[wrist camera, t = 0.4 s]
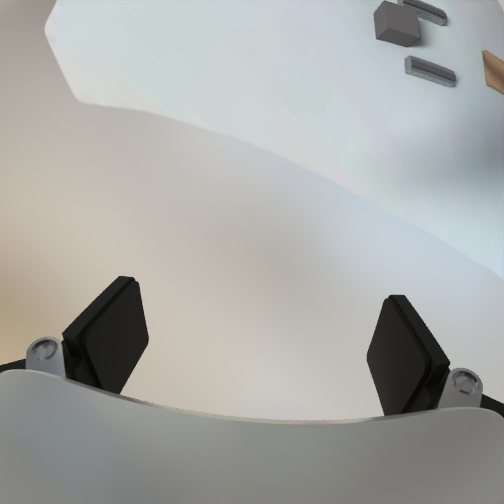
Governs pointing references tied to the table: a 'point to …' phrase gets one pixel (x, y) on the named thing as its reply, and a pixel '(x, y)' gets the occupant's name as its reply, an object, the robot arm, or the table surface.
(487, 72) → the pad
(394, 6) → the dark gray cube
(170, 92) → the table surface
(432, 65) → the metal bars
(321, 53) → the table surface
